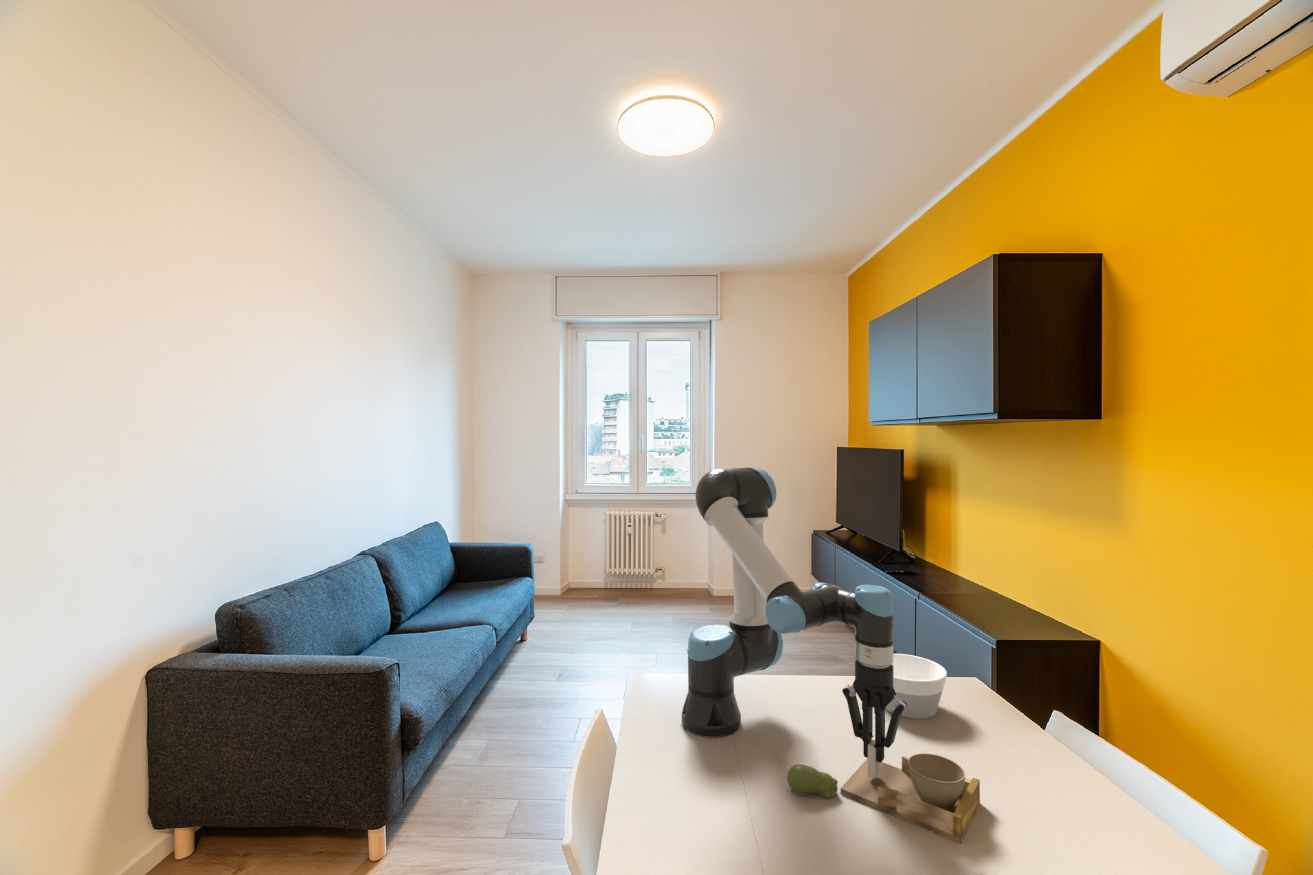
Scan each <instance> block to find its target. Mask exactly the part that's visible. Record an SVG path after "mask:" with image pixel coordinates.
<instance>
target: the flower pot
mask: <svg viewBox="0 0 1313 875" xmlns="http://www.w3.org/2000/svg"><path fill="white" fill-rule="evenodd" d="M908 758H909V759H908V767H909V772H910V776H911V780H912V782H913V785H914V788H915V790H916V792H917V794H918V796H919V798H920V799H921V801H924V802H926V803H929V804H931V805H934V806H936V807H939V808H941V809H944V810H947V811H949V810H951V808H952V807H953V806H954V805H955V803H956V802H957V800H958V798H959V797H960V794H961V792H962V789H963V786H964V781H965V778H966V771H965V770H964V769H963V767H962V766H961V765H959V763H957V762H955V761H953V760H951V759H950V758H947V757H945V756H942V755H937V754H933V753H916V754H913V755H910V757H908Z"/></svg>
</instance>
